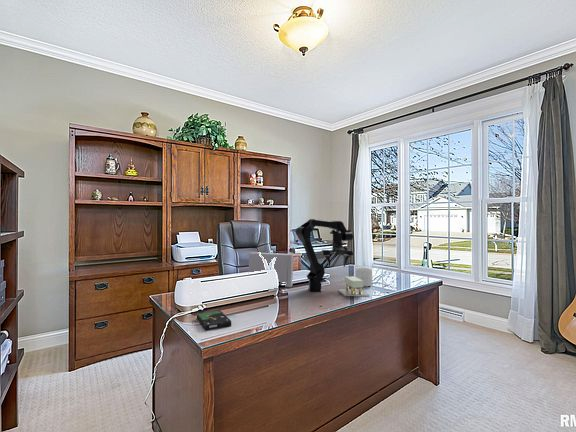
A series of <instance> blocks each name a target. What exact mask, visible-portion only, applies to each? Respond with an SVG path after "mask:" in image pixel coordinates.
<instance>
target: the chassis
mask: <svg viewBox="0 0 576 432" xmlns="http://www.w3.org/2000/svg"><path fill="white" fill-rule="evenodd" d="M338 292H339V293H340V294H341V293H342V294H343V297H345V296H356V297H370V293H368V292H367V291H365V290H364V289H363V287H358V289H357V287H351V286H350V285H348V284H346V283H345V288H342V289H339V288H338ZM342 294H341V295H342Z"/></svg>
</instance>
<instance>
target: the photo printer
mask: <svg viewBox="0 0 576 432" xmlns="http://www.w3.org/2000/svg"><path fill="white" fill-rule="evenodd" d="M355 277H357V278H358V279H360V280H362V281H363V287H368V286H373V270H372V267H369V266H358V267H356V270H355Z"/></svg>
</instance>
